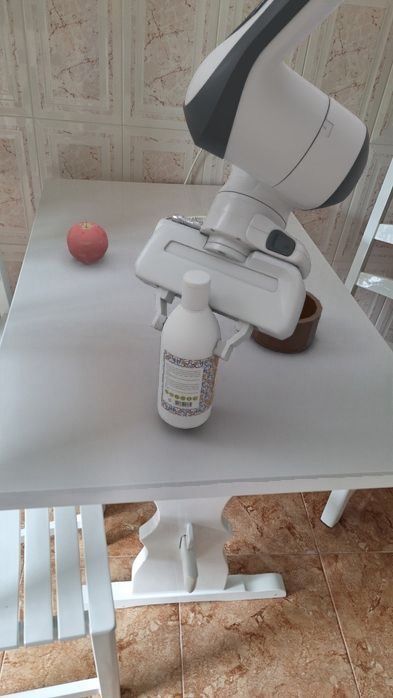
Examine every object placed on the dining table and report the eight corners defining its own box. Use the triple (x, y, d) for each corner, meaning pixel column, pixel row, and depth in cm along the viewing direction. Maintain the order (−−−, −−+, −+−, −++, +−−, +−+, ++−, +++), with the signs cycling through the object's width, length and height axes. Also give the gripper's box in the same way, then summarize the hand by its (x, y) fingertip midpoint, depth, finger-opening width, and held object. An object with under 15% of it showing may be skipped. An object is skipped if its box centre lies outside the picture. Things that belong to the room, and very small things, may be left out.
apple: (64, 254, 94) (60, 215, 89) (100, 249, 97) (99, 211, 92) (75, 273, 90) (72, 233, 85) (113, 266, 93) (112, 227, 88)
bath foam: (216, 427, 61) (238, 292, 49) (161, 433, 60) (170, 296, 47) (204, 389, 66) (221, 258, 54) (153, 393, 65) (159, 260, 52)
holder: (305, 315, 86) (313, 286, 82) (319, 354, 78) (329, 324, 74) (244, 312, 85) (250, 282, 81) (253, 351, 77) (259, 321, 73)
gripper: (155, 197, 57) (103, 304, 56) (320, 252, 50) (263, 375, 49) (174, 220, 63) (127, 317, 62) (324, 273, 55) (273, 383, 55)
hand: (188, 343), depth 55 cm, fingers closed on bath foam, 7 cm apart
